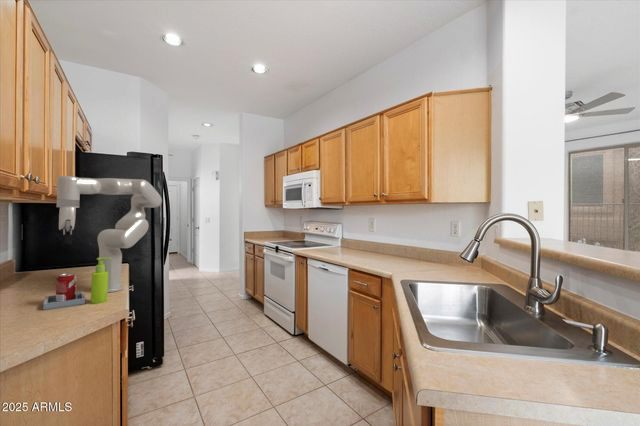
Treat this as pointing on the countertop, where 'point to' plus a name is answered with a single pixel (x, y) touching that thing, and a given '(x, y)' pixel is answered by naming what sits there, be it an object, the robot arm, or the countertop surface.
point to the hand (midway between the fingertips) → (67, 242)
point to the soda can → (66, 287)
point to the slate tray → (63, 302)
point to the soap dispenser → (99, 283)
